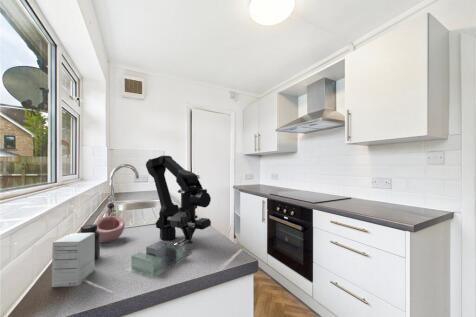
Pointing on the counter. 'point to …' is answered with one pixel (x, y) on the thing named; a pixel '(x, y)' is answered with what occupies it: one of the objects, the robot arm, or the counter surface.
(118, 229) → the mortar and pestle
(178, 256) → the sliding jaw
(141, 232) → the counter surface
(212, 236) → the counter surface
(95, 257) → the supplement bottle
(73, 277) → the supplement box
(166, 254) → the steel block
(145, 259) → the vise
